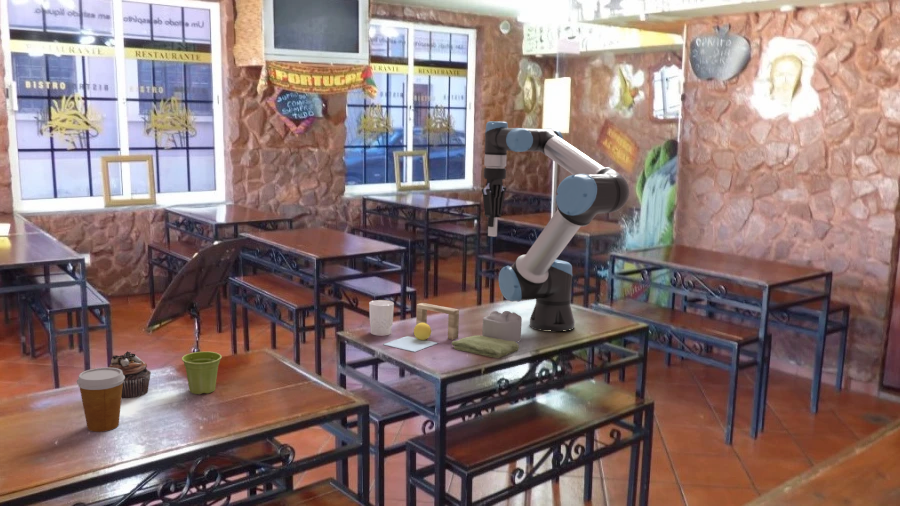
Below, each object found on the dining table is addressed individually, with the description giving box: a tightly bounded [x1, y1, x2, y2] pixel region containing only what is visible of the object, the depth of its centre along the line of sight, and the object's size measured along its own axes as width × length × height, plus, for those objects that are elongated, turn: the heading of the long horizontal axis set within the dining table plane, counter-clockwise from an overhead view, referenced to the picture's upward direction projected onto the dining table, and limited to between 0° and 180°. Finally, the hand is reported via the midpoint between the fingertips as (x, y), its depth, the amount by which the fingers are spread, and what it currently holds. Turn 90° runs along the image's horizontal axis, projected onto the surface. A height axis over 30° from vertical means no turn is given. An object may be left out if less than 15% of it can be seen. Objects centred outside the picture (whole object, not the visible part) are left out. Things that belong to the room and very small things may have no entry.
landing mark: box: [382, 335, 439, 353], centre depth 240 cm, size 12×12×1 cm
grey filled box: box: [481, 310, 523, 343], centre depth 248 cm, size 10×13×9 cm
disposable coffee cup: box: [76, 366, 125, 433], centre depth 169 cm, size 10×10×12 cm
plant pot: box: [181, 351, 223, 395], centre depth 194 cm, size 9×9×9 cm
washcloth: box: [451, 334, 520, 359], centre depth 237 cm, size 13×18×3 cm
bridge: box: [415, 302, 460, 341], centre depth 251 cm, size 3×14×9 cm, turn 56°
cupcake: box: [108, 351, 152, 400], centre depth 190 cm, size 10×10×10 cm
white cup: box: [368, 299, 395, 337], centre depth 251 cm, size 8×8×10 cm
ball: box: [413, 323, 432, 340], centre depth 245 cm, size 6×6×6 cm
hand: (492, 235), depth 269 cm, fingers closed
